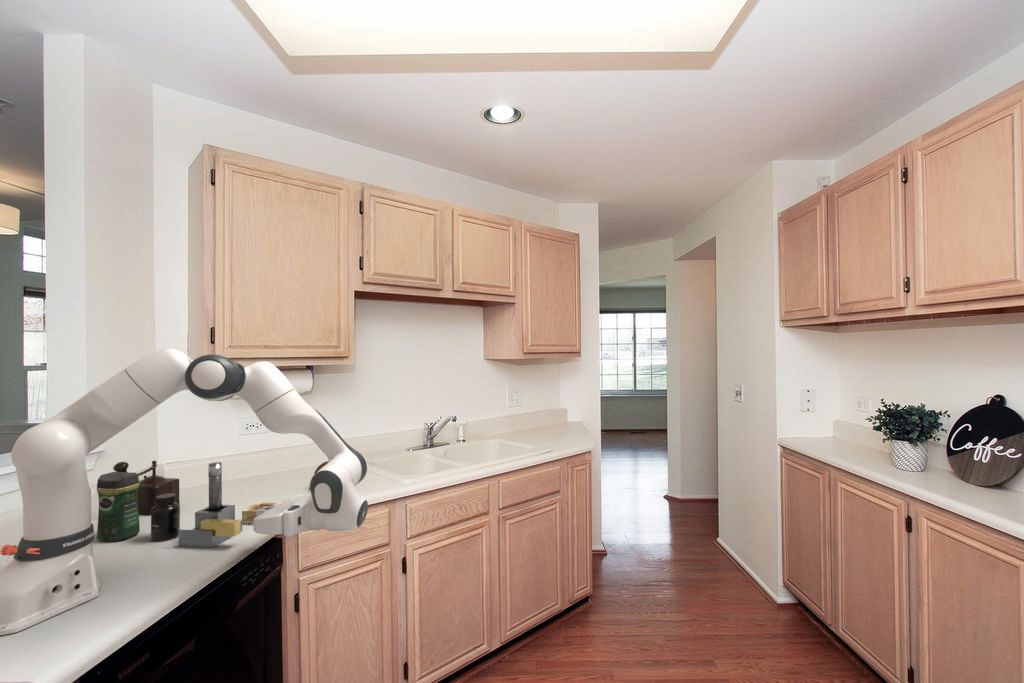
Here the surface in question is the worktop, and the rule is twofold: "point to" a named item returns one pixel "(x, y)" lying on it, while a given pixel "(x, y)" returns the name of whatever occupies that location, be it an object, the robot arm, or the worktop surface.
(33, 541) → the robot arm
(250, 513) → the open box
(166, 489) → the manual coffee grinder
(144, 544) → the worktop surface
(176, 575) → the worktop surface
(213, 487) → the grey cylinder
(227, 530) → the yellow rectangular block
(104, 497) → the coffee jar
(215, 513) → the socket
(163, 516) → the supplement bottle
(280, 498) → the worktop surface
